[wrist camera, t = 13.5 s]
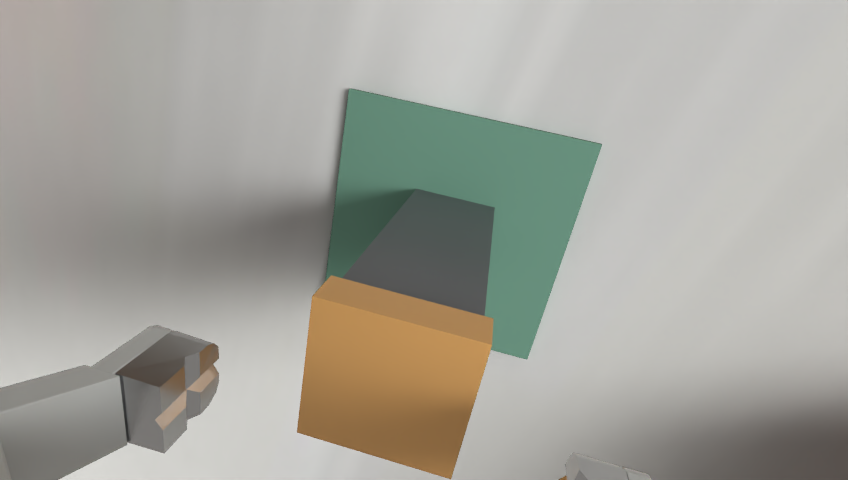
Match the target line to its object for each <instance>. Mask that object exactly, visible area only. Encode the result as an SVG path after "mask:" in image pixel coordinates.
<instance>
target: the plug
mask: <svg viewBox="0 0 848 480" xmlns="http://www.w3.org/2000/svg"><path fill="white" fill-rule="evenodd" d="M494 210H495V207H491V206H487V205H482V204H478V203H474V202H470V201H466V200H462V199H457V198H453V197H449V196H445V195H441V194H437V193H433V192H428V191H424V190H420V189H416V190H415V191H414V192H413V193H412V195H411V196H410V197H409V198H408V199H407V201H406V202H405V203H404V204H403V205H402V207H401V208H400V209H399V210H398V212H397V213H396V214H395V215H394V216H393V218H392V219H391V220H390V221H389V222H388V224H387V225H386V226H385V227H384V228H383V230H382V231H381V232H380V233H379V234H378V236H377V237H376V238H375V239H374V240H373V242H372V243H371V244H370V245H369V246H368V248H367V249H366V250H365V251H364V252H363V254H362V255H361V256H360V257H359V258H358V260H357V261H356V262H355V263H354V264H353V266H352V267H351V268H350V269H349V270H348V272H347V273H346V274H345V275H344V276H343V278H339V277H336V276H332V275H331V276H330V277H329V278H328V279H327V280H326V281H325V283H324V284H323V285H322V286H321V287H320V288H319V289H318V290H317V291H316V293H315V294H314V295H313V296H312V304H311V312H310V321H309V330H308V339H307V348H306V357H305V366H304V375H303V384H302V392H301V401H300V410H299V419H298V428H297V433H301V434H304V435H307V436H311V437H314V438H317V439H320V440H324V441H327V442H330V443H334V444H337V445H340V446H343V447H347V448H350V449H353V450H357V451H360V452H363V453H366V454H370V455H373V456H376V457H380V458H383V459H386V460H389V461H393V462H396V463H399V464H403V465H406V466H409V467H412V468H416V469H419V470H422V471H426V472H429V473H432V474H435V475H439V476H442V477H445V478H449V479H451V477H452V474H453V471H454V467H455V464H456V461H457V458H458V454H459V451H460V448H461V445H462V441H463V438H464V435H465V432H466V428H467V425H468V422H469V418H470V415H471V412H472V409H473V405H474V402H475V399H476V396H477V392H478V389H479V386H480V383H481V379H482V376H483V373H484V370H485V366H486V363H487V360H488V357H489V353H490V350H491V347H492V337H493V319H494V318H490V317H486V316H485V307H486V296H487V285H488V274H489V264H490V253H491V242H492V232H493V221H494Z"/></svg>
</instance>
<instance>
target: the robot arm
mask: <svg viewBox="0 0 848 480" xmlns="http://www.w3.org/2000/svg"><path fill="white" fill-rule="evenodd" d="M218 359H219V352H218V346H217V345H215V344H214V343H211V342H208V341H205V340H202V339H199V338H196V337H193V336H190V335H187V334H184V333H181V332H178V331H173V330H170V329H167V328H164V327H161V326H158V325H155V326H150V327H148V328H147V329H145V330H144V331H142V332H141V333H139V334H138V335H137V336H135V337H134V338H132V339H131V340H129V341H128V342H126V343H125V344H123V345H122V346H121V347H119V348H118V349H116V350H115V351H113V352H112V353H110V354H109V355H108V356H106V357H105V358H103V359H102V360H100V361H99V362H97V363H96V364H95V365H93V366H92V367H90V366H87V365H83V366H79V367H75V368H72V369H68V370H65V371H61V372H57V373H54V374H50V375H46V376H43V377H39V378H35V379H32V380H28V381H24V382H21V383H17V384H13V385H10V386H6V387H2V388H0V480H58V479H60V478H62V477H64V476H66V475H68V474H70V473H72V472H74V471H76V470H78V469H80V468H82V467H84V466H86V465H88V464H90V463H92V462H94V461H96V460H98V459H100V458H102V457H104V456H106V455H108V454H110V453H112V452H114V451H116V450H118V449H120V448H122V447H124V446H126V445H127V442H128V443H132V444H135V445H138V446H142V447H145V448H148V449H152V450H155V451H158V452H161V453H165V452H166V451H167V450H168V449H169V448H170V447H171V446H172V445H173V444H174V443H175V441H176V440H177V439H178V438H179V437H180V436H181V435H182V434H183V433H184V432H185V431H186V430H187V420H188V419H190V418H193V417H195V416H197V415H200V414H201V413H202V412H203V411H204V410H205V409H206V408H207V406H208V405H209V404H210V402H211V400H212V399H213V397H214V395H215V393H216V390H217V386H218V383H219V373H218V372H217V370H216V368H215V367H214V365H213V363H214V362H215V361H217V360H218ZM565 466H566V475H567V476H565V477H563V478H561V479H559V480H652V479H651V478H650V476H649V475H648V474H646V473H643V472H639V471H636V470H632V469H629V468H626V467H620V466H618V465H615V464H611V463H608V462H604V461H601V460H598V459H594V458H591V457H587V456H584V455H581V454H577V453H574V452H573V453H572V454H571V455H570V456H569V458H568V460H567V462H566V464H565Z"/></svg>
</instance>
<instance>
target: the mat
mask: <svg viewBox="0 0 848 480" xmlns="http://www.w3.org/2000/svg"><path fill="white" fill-rule="evenodd" d="M601 146H602V144H600V143H595V142H591V141H586V140H582V139H577V138H573V137H568V136H564V135H559V134H555V133H550V132H545V131H541V130H536V129H532V128H527V127H523V126H518V125H514V124H509V123H505V122H500V121H496V120H491V119H487V118H482V117H478V116H473V115H469V114H464V113H460V112H455V111H451V110H446V109H442V108H437V107H433V106H428V105H423V104H419V103H414V102H410V101H405V100H401V99H396V98H392V97H387V96H383V95H378V94H374V93H369V92H365V91H360V90H356V89H349V93H348V101H347V109H346V117H345V126H344V134H343V142H342V150H341V158H340V166H339V174H338V182H337V190H336V198H335V207H334V215H333V223H332V231H331V239H330V247H329V255H328V263H327V271H326V279H325V281H326V280H327V279H328V278H329V277H330V276H331V275H332V276H336V277H339V278H343V276H344V275H345V274H346V273H347V272H348V270H349V269H350V268H351V267H352V266H353V264H354V263H355V262H356V261H357V260H358V258H359V257H360V256H361V255H362V254H363V252H364V251H365V250H366V249H367V248H368V246H369V245H370V244H371V243H372V242H373V240H374V239H375V238H376V237H377V236H378V234H379V233H380V232H381V231H382V230H383V228H384V227H385V226H386V225H387V224H388V222H389V221H390V220H391V219H392V218H393V216H394V215H395V214H396V213H397V212H398V210H399V209H400V208H401V207H402V205H403V204H404V203H405V202H406V201H407V199H408V198H409V197H410V196H411V195H412V193H413V192H414V191H415V190H416V189H420V190H424V191H428V192H433V193H437V194H441V195H445V196H449V197H453V198H457V199H462V200H466V201H470V202H474V203H478V204H482V205H487V206H491V207H495V210H494V221H493V232H492V242H491V253H490V264H489V274H488V285H487V296H486V307H485V316H486V317H490V318H494V319H493V337H492V347H491V350H494V351H497V352H501V353H505V354H508V355H512V356H516V357H519V358H523V359H528V356H529V353H530V350H531V347H532V344H533V341H534V338H535V336H536V333H537V330H538V327H539V324H540V321H541V318H542V316H543V313H544V310H545V307H546V304H547V301H548V298H549V295H550V293H551V290H552V287H553V284H554V281H555V278H556V275H557V273H558V270H559V267H560V264H561V261H562V258H563V255H564V252H565V250H566V247H567V244H568V241H569V238H570V235H571V232H572V230H573V227H574V224H575V221H576V218H577V215H578V212H579V209H580V207H581V204H582V201H583V198H584V195H585V192H586V189H587V187H588V184H589V181H590V178H591V175H592V172H593V169H594V166H595V164H596V161H597V158H598V155H599V152H600V149H601Z"/></svg>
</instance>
